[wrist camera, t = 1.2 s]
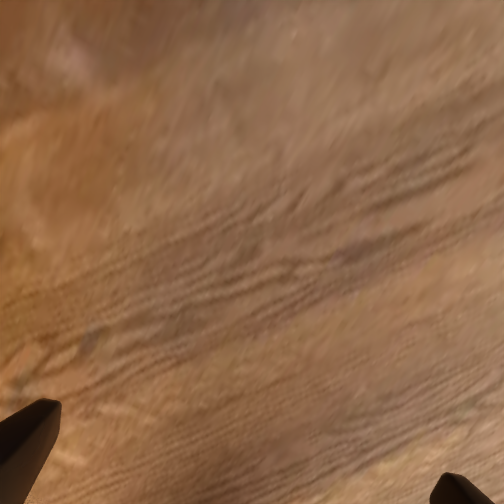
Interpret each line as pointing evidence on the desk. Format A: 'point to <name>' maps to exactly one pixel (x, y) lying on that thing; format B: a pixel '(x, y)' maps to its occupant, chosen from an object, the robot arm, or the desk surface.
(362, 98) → the desk surface
